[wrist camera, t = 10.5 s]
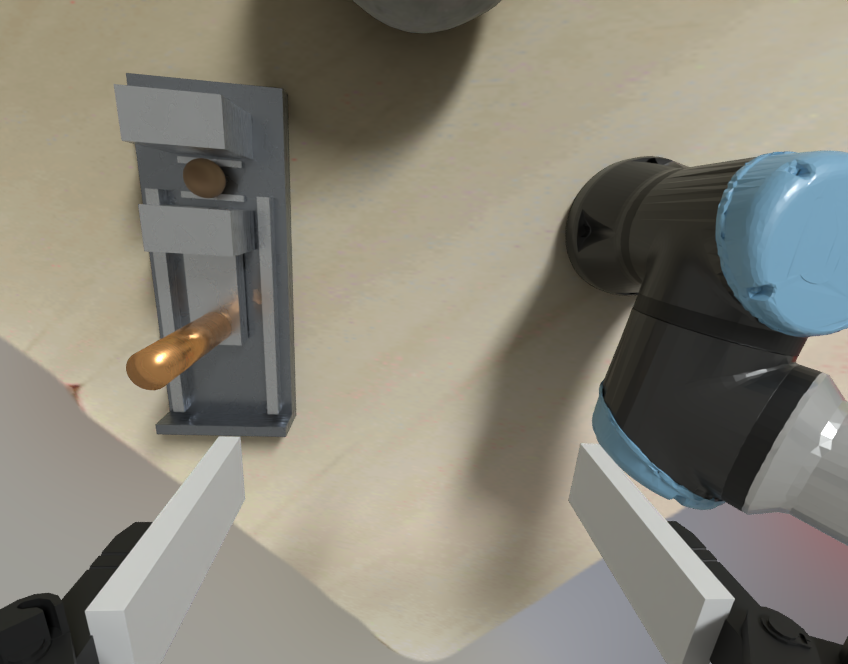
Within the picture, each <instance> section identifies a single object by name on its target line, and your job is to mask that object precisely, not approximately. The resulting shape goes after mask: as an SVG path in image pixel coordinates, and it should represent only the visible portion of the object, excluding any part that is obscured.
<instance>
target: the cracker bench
mask: <svg viewBox="0 0 848 664" xmlns="http://www.w3.org/2000/svg"><path fill="white" fill-rule="evenodd" d="M126 77H127V85H128V86H127V85H117V84H114V89H115V96H116V103H117V111H118V118H119V125H120V132H121V139H122V141H125V142H129V143H133V144H135V146H136V154H137V162H138V169H139V177H140V185H141V192H142V200H143V204H155V205H183V206H197V207H211V208H225V209H239V210H253V219H254V237H255V250H254V251H251V252H247V253H244V254H243V267H244V283H245V299H246V315H247V331H248V340H247V341H246V342H245V343H244V344H243V345H242V346H239V345H217V346H216V347H215V348H213V349H212V350H211V351H209V352H208V353H207V354H206V355H204V356H203V357H202V358H200V359H199V360H198V361H197V362H195V363H194V364H193V365H191V366H190V367H189V368H188V369H186V370H185V371H184V372H182V373H181V374H180V375H178V376H177V377H176V378H175V379H173V380H172V381H171V382H169V383H168V384H167V392H168V399H169V407H170V412H169V413H168V414H167V415H166V416H164V417H163V418H162V419H161V420H160V421H159V422H158V423H157V424H156V432H157V434H172V435H223V436H274V437H286V436H287V433H288V431H289V429H290V427H291V425H292V423H293V421H294V419H295V416H296V391H295V354H294V317H293V280H292V243H291V205H290V168H289V131H288V94H287V93H286V92H285V91H284V90H283V89H282V88H272V87H262V86H252V85H242V84H232V83H222V82H212V81H202V80H191V79H181V78H171V77H161V76H151V75H141V74H131V73H126ZM196 158H205V159H209V160H211V161H213V162H215V163H216V164H217V165H218V166H219V167H220V168H221V169H222V171H223V172H224V175H225V178H226V185H225V188H224V190H223V192H222V193H221V194H220V195H218V196H217V197H214V198H202V197H199V196H197V195H195V194H193V193H192V192H191V191H190V190H189V189H188V188H187V186H186V185H185V182H184V179H183V170H184V167H185V166H186V164H187V163H188V162H189V161H191V160H193V159H196ZM149 254H150V261H151V269H152V277H153V284H154V292H155V300H156V307H157V315H158V323H159V330H160V338H161V339H162V338H164V337H166V336H167V335H169V334H171V333H173V332H175V331H176V330H178V329H180V328H182V327H183V326H185V325H187V324H189V323H190V313H189V304H188V294H187V285H186V275H185V266H184V257H183V254H181V253H165V252H149Z"/></svg>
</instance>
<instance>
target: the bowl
mask: <svg viewBox="0 0 848 664" xmlns="http://www.w3.org/2000/svg"><path fill="white" fill-rule="evenodd" d="M353 1H354V2H355V3H356V4H358V5H359V6H360V7H361V8H362V9H364V10H365V11H366V12H367V13H369V14H370V15H371V16H373V17H374V18H375V19H377V20H379V21H381V22H383V23H384V24H386V25H388V26H391V27H394V28H396V29H399V30H403V31H407V32H411V33H432V32H438V31H443V30H447V29H451V28H454V27H456V26H458V25H461V24H464V23H466V22H468V21H470V20H472V19H474V18H476V17H478V16H480V15H482V14H483V13H485V12H487V11H489V10H490V9H492V8H493V7H495V6H496V5H497V4H498V3H499V2H500V1H501V0H353Z"/></svg>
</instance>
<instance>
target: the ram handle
mask: <svg viewBox="0 0 848 664" xmlns="http://www.w3.org/2000/svg"><path fill="white" fill-rule="evenodd" d="M138 207H139V214H140V222H141V229H142V237H143V244H144V251H148V252H165V253H181V254H183V257H184V266H185V275H186V285H187V294H188V304H189V313H190V323H189V324H187V325H185V326H183V327H182V328H180V329H178V330H176V331H175V332H173V333H171V334H169V335H167V336H166V337H164V338H162V339H160V340H158V341H157V342H155V343H153V344H151V345H149V346H148V347H146V348H144V349H142V350H141V351H139V352H137V353H135V354H133V355H132V356H131V357H130V358H129V359H128V361H127V364H126V371H127V374H128V376H129V378H130V380H131V381H132V382H133V383H134V384H136V385H137V386H139V387H141V388H143V389H146V390H158V389H161V388H163V387H164V386H166V385H167V384H168V383H169V382H171V381H172V380H173V379H175V378H176V377H177V376H178V375H180V374H181V373H182V372H184V371H185V370H186V369H188V368H189V367H190V366H191V365H193V364H194V363H195V362H197V361H198V360H199V359H200V358H202V357H203V356H204V355H206V354H207V353H208V352H209V351H211V350H212V349H213V348H215V347H216V346H217V345H239V346H242V345H243V344H244V343H245V342H246V341H247V340H248V331H247V315H246V299H245V283H244V267H243V254H244V253H247V252H251V251H254V250H255V237H254V219H253V210H239V209H225V208H211V207H197V206H183V205H155V204H138Z"/></svg>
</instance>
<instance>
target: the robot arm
mask: <svg viewBox="0 0 848 664" xmlns="http://www.w3.org/2000/svg"><path fill="white" fill-rule="evenodd" d="M566 247H567V252H568V255H569V258H570V261H571V263H572V265H573V267H574V269H575V270H576V272H577V273H578V274H579V275H580V276H581V277H582V278H583V279H584V280H585V281H586V282H587V283H589V284H590V285H592V286H594V287H596V288H598V289H601V290H603V291H606V292H609V293H612V294H616V295H624V296H633V295H638V296H637V299H636V301H635V304H634V306H633V308H632V310H631V313H630V316H629V318H628V321H627V323H626V326H625V329H624V331H623V334H622V337H621V339H620V342H619V344H618V346H617V349H616V351H615V354H614V356H613V359H612V361H611V364H610V366H609V369H608V371H607V374H606V376H605V378H604V380H603V381H602V382H601V384H600V387H599V397H598V400H597V404H596V407H595V410H594V413H593V417H592V426H593V430H594V432H595V434H596V437H597V440H598V442H599V444H600V445H601V446H600V445H599V444H584V443H580V448H579V453H578V457H577V462H576V467H575V472H574V476H573V481H572V486H571V490H570V495H569V500H568V501H569V502H570V504H571V506H572V507H573V509H574V511H575V512H576V514H577V516H578V517H579V519H580V521H581V522H582V524H583V526H584V527H585V529H586V531H587V532H588V534H589V536H590V537H591V539H592V541H593V542H594V544H595V546H596V547H597V549H598V551H599V552H600V554H601V556H602V557H603V559H604V561H605V562H606V564H607V565H608V567H609V569H610V570H611V572H612V573H613V575H614V577H615V579H616V580H617V582H618V584H619V585H620V587H621V589H622V590H623V592H624V594H625V595H626V597H627V599H628V600H629V602H630V604H631V605H632V607H633V608H634V610H635V612H636V614H637V615H638V617H639V618H640V620H641V622H642V623H643V625H644V627H645V628H646V630H647V632H648V633H649V635H650V637H651V638H652V640H653V642H654V643H655V645H656V647H657V648H658V650H659V652H660V653H661V655H662V657H663V658H664V660H665V662H666V663H667V664H709V663H710V662H711V663H712V664H848V637H847V639H846V641H845V643H844V644H843V645H840V644H837V643H834V642H830V641H826V640H823V639H819V638H815V637H812V636H809V635H808V634H807V633H806V632H805V630H804V629H803V628H801V627H800V626H799V625H798V624H796V623H795V622H794V621H793V620H791V619H790V618H788V617H787V616H785V615H783V614H781V613H779V612H778V611H775V610H773V609H770V608H767V607H761V606H760V605H759V604H758V603H757V602H756V601H755V600H754V599H753V598H752V597H751V596H750V595H749V593H748V592H747V591H746V590H745V589H744V588H743V587H742V586H741V585H740V584H739V583H738V582H737V580H736V579H735V578H734V577H733V576H732V575H731V574H730V573H729V572H728V571H727V570H726V569H725V567H723V565H722V564H721V563H720V562H717V559H716V558H715V557H714V556H713V554H712V553H711V552H710V551H709V550H706V547H705V546H704V545H703V544H702V543H701V542H700V540H699V539H698V538H697V537H696V536H695V535H694V534H693V533H692V532H690V531H689V530H687V529H686V528H685V527H683V526H681V525H680V524H679V523H678V522H676V521H666V520H665V519H664V518H663V516H662V515H661V514H660V513H659V512H658V511H657V510H656V508H655V507H654V506H653V505H652V504H651V503H650V502H649V500H648V499H647V498H646V497H645V496H644V495H643V494H642V492H641V491H640V490H639V489H638V488H637V487H636V486H635V485H634V483H633V482H632V481H631V480H630V479H629V478H628V477H627V475H626V474H625V473H624V472H626V473H627V474H628V475H629V476H631V477H632V478H633V479H634V480H636V481H637V482H639V483H640V484H642V485H643V486H645V487H646V488H648V489H649V490H651V491H653V492H654V493H656V494H658V495H660V496H662V497H664V498H666V499H669V500H670V499H673V498H674V499H675V500H677V501H678V502H679V503H680V504H681V505H683V506H686V507H689V508H693V509H699V510H707V509H713V508H716V507H717V506H719V505H722V504H724V503H725V502H727V503H728V504H730V505H732V506H734V507H735V508H737V509H739V510H740V511H742V512H744V513H746V514H748V515H752V514H763V513H772V512H781V513H787V514H790V515H792V516H794V517H796V518H798V519H799V520H801V521H803V522H805V523H807V524H809V525H811V526H812V527H814V528H816V529H818V530H820V531H821V532H823V533H825V534H827V535H829V536H831V537H832V538H834V539H836V540H838V541H840V542H842V543H844V544H845V545H847V546H848V402H847V401H846V400H845V398H844V397H843V395H842V394H841V392H840V391H839V389H838V388H837V386H836V384H835V383H834V381H833V380H832V378H831V377H830V375H828V374H825V373H823V372H820V371H817V370H814V369H811V368H808V367H805V366H802V365H799V364H797V363H796V360H797V358H798V356H799V354H800V352H801V350H802V348H803V346H804V344H805V342H806V340H807V338H808V337H810V336H820V335H828V334H832V333H835V332H839V331H841V330H843V329H847V328H848V153H846V152H840V151H813V152H802V153H796V152H788V151H785V152H773V153H769V154H763V155H760V156H758V157H753V158H747V159H740V160H734V161H727V162H721V163H714V164H708V165H701V166H695V167H687V166H685V165H682V164H680V163H677V162H675V161H672V160H669V159H666V158H662V157H654V156H644V157H637V158H632V159H627V160H623V161H620V162H617V163H614V164H612V165H610V166H608V167H606V168H604V169H603V170H601V171H600V172H598V173H597V174H596V175H595V176H593V177H592V178H591V179H590V180H589V181H588V182H587V183H586V185H585V186H584V187H583V188H582V190H581V191H580V192H579V194H578V196H577V197H576V199H575V201H574V203H573V205H572V207H571V210H570V213H569V216H568V220H567V225H566ZM620 468H621V469H622V470H623V471H624V472H623V471H622V470H621V469H620ZM244 500H245V491H244V477H243V464H242V450H241V437H224V436H219V437H218V438H217V440H216V441H215V442H214V443H213V445H212V446H211V447H210V449H209V450H208V451H207V453H206V454H205V455H204V456H203V458H202V459H201V460H200V462H199V463H198V464H197V466H196V467H195V468H194V470H193V471H192V472H191V473H190V475H189V476H188V477H187V479H186V480H185V481H184V483H183V484H182V485H181V487H180V488H179V490H178V491H177V492H176V493H175V494H174V496H173V497H172V498H171V500H170V501H169V502H168V503H167V505H166V506H165V507H164V509H163V510H162V511H161V513H160V514H159V515H158V517H157V518H156V519H155V520H154V522H135V523H133V524H132V525H130V526H129V527H128V528H126V529H125V530H124V531H122V532H121V533H119V534H118V535H117V536H115V538H114V539H113V540H112V541H111V542H110V543H109V545H108V546H107V547H106V548H105V549H104V550H103V552H102V554H101V556H98V558H97V559H96V560H95V561H94V562H93V563H92V565H91V566H90V569H89V570H87V571H86V572H85V573H84V574H83V575H82V577H81V578H80V579H79V580H78V581H77V582H76V583H75V585H74V586H73V587H72V588H71V589H70V591H69V592H68V593H67V594H66V595H65V596H64V598H63V599H62V600H61V599H60V598H59V596H58V595H54V594H51V593H42V594H34V595H31V596H28V597H25V598H22V599H19V600H17V601H15V602H13V603H11V604H9V605H8V606H6V607H4V608H2V609H0V664H161V662H162V660H163V658H164V656H165V654H166V653H167V651H168V648H169V647H170V645H171V642H172V641H173V639H174V637H175V635H176V633H177V631H178V629H179V627H180V625H181V623H182V621H183V619H184V617H185V615H186V613H187V611H188V609H189V607H190V606H191V604H192V602H193V600H194V598H195V596H196V594H197V592H198V590H199V588H200V586H201V584H202V582H203V580H204V578H205V576H206V574H207V572H208V570H209V568H210V566H211V564H212V563H213V561H214V559H215V557H216V555H217V553H218V551H219V549H220V547H221V545H222V543H223V541H224V539H225V537H226V535H227V533H228V531H229V529H230V527H231V525H232V523H233V522H234V520H235V518H236V516H237V514H238V512H239V510H240V508H241V506H242V504H243V502H244Z"/></svg>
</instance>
